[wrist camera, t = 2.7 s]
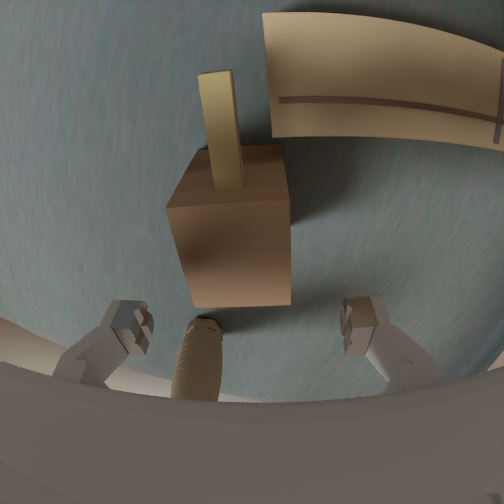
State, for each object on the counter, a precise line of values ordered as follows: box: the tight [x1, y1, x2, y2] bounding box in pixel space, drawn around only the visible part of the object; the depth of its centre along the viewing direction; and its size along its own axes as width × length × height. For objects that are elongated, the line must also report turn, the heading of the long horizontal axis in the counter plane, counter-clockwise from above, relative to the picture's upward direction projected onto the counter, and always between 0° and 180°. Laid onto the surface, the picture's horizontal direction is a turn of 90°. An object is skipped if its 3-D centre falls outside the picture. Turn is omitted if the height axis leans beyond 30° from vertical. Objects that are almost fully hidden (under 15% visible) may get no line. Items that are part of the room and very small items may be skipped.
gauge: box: [165, 69, 291, 308], centre depth 15 cm, size 11×5×7 cm, turn 5°
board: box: [262, 12, 504, 151], centre depth 12 cm, size 6×16×4 cm, turn 95°
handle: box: [171, 318, 223, 401], centre depth 22 cm, size 5×6×15 cm
